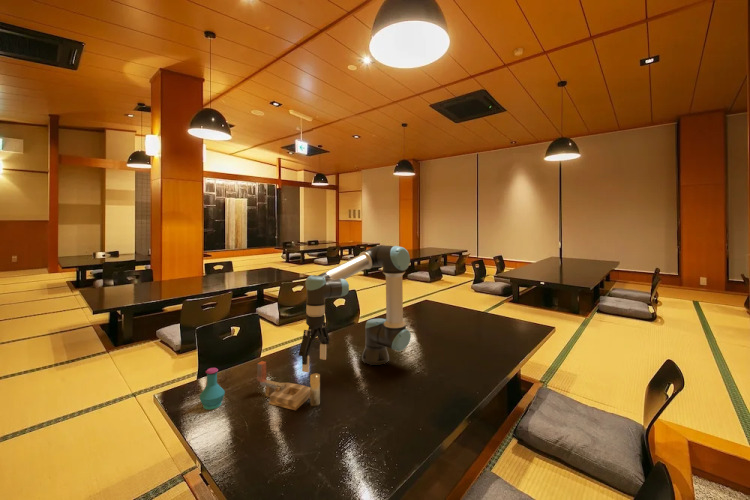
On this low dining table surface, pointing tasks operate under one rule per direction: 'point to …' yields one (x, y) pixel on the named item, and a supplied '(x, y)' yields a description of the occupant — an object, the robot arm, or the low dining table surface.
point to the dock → (288, 395)
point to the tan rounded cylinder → (314, 389)
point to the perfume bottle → (212, 391)
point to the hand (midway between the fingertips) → (314, 365)
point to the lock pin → (262, 377)
